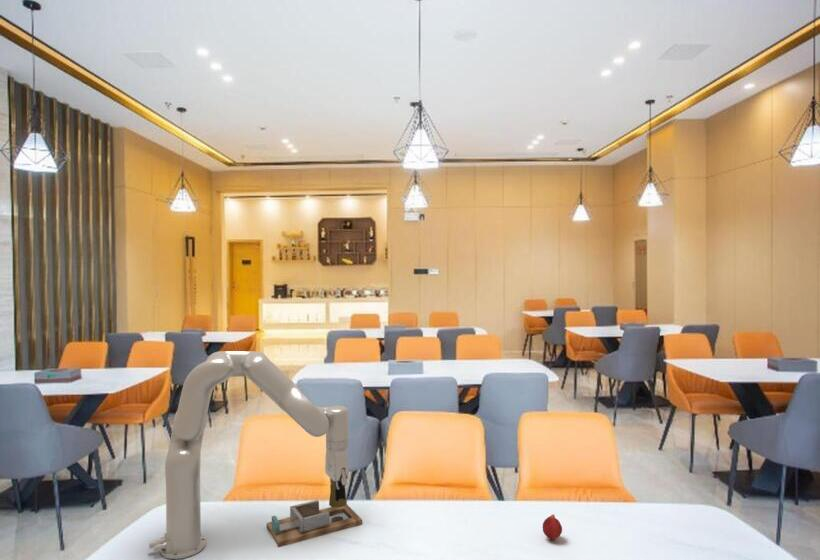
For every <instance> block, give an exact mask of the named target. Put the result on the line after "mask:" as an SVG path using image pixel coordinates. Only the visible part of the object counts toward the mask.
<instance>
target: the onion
mask: <svg viewBox="0 0 820 560" xmlns="http://www.w3.org/2000/svg"><path fill="white" fill-rule="evenodd" d="M555 516H556V515H555V514H553V513H552V514H551V515H550V516H548V517H546V518H545V519H544V521H543V523H542V532H543V534H544V535H545V536H546V538H548V539H550V540H551V541H555V540H557V539H558V538H559V537H560V536H561V535H562V533H563V527H562V524H561V522H560V521H559V519H557V518H556V517H555Z"/></svg>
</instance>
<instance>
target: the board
mask: <svg viewBox="0 0 820 560" xmlns="http://www.w3.org/2000/svg"><path fill="white" fill-rule="evenodd" d="M324 512H329V517H332V516H333V517H332V518H331V520H329V526H325V527H321V528H317V529H313V530H310V531H306V532H302V533H300V531H299V530H298V529H297V528H296V529H292V530H288V531H284V532H280V534H275V532H274V531H273V529H272V521H269V522H266V529H267V531H268V532H269V534H270V535H271V538H272V539H273V541H274V542H275V544H276V546H277V547H278V548H280V547H284V546H288V545H291V544H296V543H298V542H302V541H306V540H309V539H314V538H318V537H321V536H324V535H328V534H332V533H336V532H339V531H343V530H346V529H349V528H355V527H357V526H358V527H359V526H361V525H363V518H361V517H360V516H359V515H358V514H357V512H355V511H354V509H352V508H351V507H350V506H349V505H348V503H347V504H346V505H345V506H343V507H338V508H335V507H331V506H329V507H327V508H322V509H319V513H317V514H320V513H324ZM341 514H344V515H345V516H346V517H347V518H345V519H344V517H343V516H340V515H341ZM313 515H316V514H313ZM309 516H312V515H309ZM305 517H308V516H305ZM303 518H304V517H303ZM278 520H279V522H280V524H283V523H287V522H291V521H292V520H291V519H290V517H285V518H280V519H278Z"/></svg>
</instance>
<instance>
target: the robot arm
mask: <svg viewBox="0 0 820 560" xmlns="http://www.w3.org/2000/svg"><path fill="white" fill-rule="evenodd" d="M231 377H234V378H235V377H237V378H238V377H247V379H248V380H250V381H251V382H252V383H253V384H254V385H255V386H256V387H257V389H259V390H261V391H262V392H263V393H264V394H265V395H266V396H267V397H268V398H269V399H271V400H272V401H273V402H274V403H275V404H276V405H277V406H278V407H279V408H280V409H281V410H282V411H283V412H284V413H286V414H287V415H288V416H289V417H290V418H291V420H292V421H294V422H295V423H296V424H297V425H299V426H300V427H301V428H302V429H303V430H304V431H305V432H306V433H307V434H308V435H310V436H311V437H315V438H320V437H323V436H325V449H326V450H325V461H324V462H325V465H324V469H325V472H324V473H325V475H327V476H328V477H329V483H330V485H329V487H330V488H329V489H330V492H331V483H332V481H331V480H330V478H331V479H332V480H333V481H335V482H336V487H337V489H336V501H338V500H339V499H343V500H344V499H345V492H346V486H347V484H348V481H347V480H348V478H349V457H348V456H349V455H348V449H349V409H348V408H347V407H346V406H344V405H331V406H315V405H314V404H313V403H312V402H311V401H310V400H309V399H308V398H307V397H306V396H305V394H304V393H303V392H302V391H301V389H300V388H299V386H298V385H297V384H296V383H295V382H294V381H293V380H292V379H291V378H290V377H288V376H287V375H286V374H285V373H284V372H283V371H282V370H281V369H280V368H278V367H277V366H276V365H275V363H273V362H272V361H271V360H270V359H269V358H268V357H267V355H266V354H264V353H263V352H261V351H256V350H255V351H249V350H246V351H243V350H241V351H237V350H235V351H234V350H232V351H231V350H229V351H228V350H226V351H225V350H219V351H215V352H213V353H211V354H210V355H209V356H208V357H207V358H206V360H205V361H204V362H201V363H200V364H197V366H195V367H194V368H193V369H191V371H190V372H189V373H188V375H187V376H186V378H185V380H184V382H183V386H182V389H181V393H180V396H179V400H178V401H179V402H178V408H177V410H176V412H175V415H174V420H173V423H172V424H173V425H172V428H171V429H172V430H171V434H170V441H169V445H168V451H167V453H166V458H165V462H164V476H165V477H164V478H165V504H166V505H165V506H166V507H165V510H166V511H165V513H166V514H165V515H166V516H165V517H166V518H165V519H166V520H165V521H166V522H165V524H166V525H165V527H166V528H165V530H166V532H165V533H164V536H162V537H161V538H160V539H154V540H150V541H149V542H148V543H149V544H148V546H149V547H148V548H149V549H152V548H153V549H154V551H157V550H160V555H161V556H162V557H163V558H165V559H168V560H169V559H170V560H178V559H179V560H180V559H185V558H189V557H192V556H194V555H196V554H198V553H200V552H201V551H202V550H204V548H205V547H206V545H207V538H206V537H205V536H204V535H202V533H201V531H202V529H201V521H202V520H201V519H202V517H201V451H202V443H203V439H204V434H205V433H204V432H205V429H206V427H207V424H208V412H209V406H210V401H211V397H212V393H213V390H214V389H215V388H216V387H217V386H219V384H222V383H225V382H226V381H228V380H230V378H231ZM340 477H341V479H340ZM340 481H342V482H341V483H340V484H339V482H340Z"/></svg>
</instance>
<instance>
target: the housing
mask: <svg viewBox="0 0 820 560" xmlns="http://www.w3.org/2000/svg"><path fill="white" fill-rule="evenodd" d="M289 507H290V508H289V509H290V510H289V512H290V513H289V515H290V519H291V520H292V521H291V522H287V523H283V524H280V522H279V520H280V519H278V517H277V516H276V515H271V522H272V529H273V531H274V532H275V534H280V532H284V531H288V530H292V529H296V528H297V529H298V530H299V531H300V533H302V532H306V531H310V530H313V529H317V528H321V527H325V526H329V521H330V516H329V512H324V513H320V514H317V513H319V510H320V501H319V500H318V499H317V500H316V499H315V500H313V501H308V502H304V503H299V504H295V505H291V506H289ZM313 514H316V515H313ZM309 515H312V516H309ZM305 516H308V517H305ZM303 517H304V518H303Z"/></svg>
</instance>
